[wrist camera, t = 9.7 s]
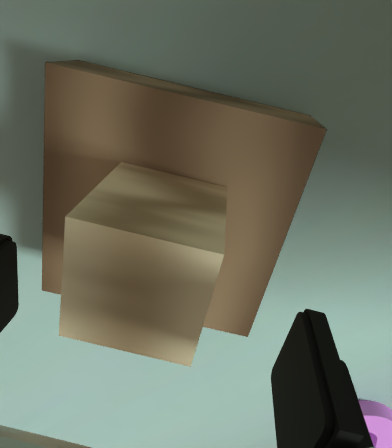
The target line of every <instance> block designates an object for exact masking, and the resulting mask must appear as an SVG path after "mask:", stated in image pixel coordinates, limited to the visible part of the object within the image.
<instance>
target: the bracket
mask: <svg viewBox="0 0 392 448" xmlns="http://www.w3.org/2000/svg"><path fill="white" fill-rule="evenodd" d="M358 401H359V404H360V407H361V410H362V413H363V416H364V419H365V422H366V425H367V428H368V431H369V432H370V433H369V434H370V437H371V440H372V443H373V446H374V448H392V410H391V409H390V408H388V407H387V406H385V405H383V404H381V403H378V402H374V401H368V400H358Z"/></svg>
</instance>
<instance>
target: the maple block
mask: <svg viewBox="0 0 392 448" xmlns="http://www.w3.org/2000/svg"><path fill="white" fill-rule="evenodd" d="M226 207H227V187H223V186H219V185H215V184H211V183H207V182H203V181H199V180H194V179H190V178H186V177H182V176H178V175H174V174H170V173H166V172H161V171H157V170H153V169H149V168H145V167H141V166H137V165H132V164H128V163H124V162H121V163H120V164H119V165H118V166H117V167H116V168H115V169H114V170H113V171H112V172H111V173H110V174H109V175H107V176H106V177H105V178H104V179H103V180H102V181H101V182H100V183H99V184H98V185H97V186H96V187H95V188H94V189H93V190H92V191H91V192H90V193H89V194H88V195H87V196H86V197H85V198H84V199H83V200H82V201H81V202H80V203H79V204H78V205H77V206H76V207H75V208H74V209H73V210H72V211H71V212H70V213H68V214H67V215H66V216H65V231H64V250H63V269H62V287H61V306H60V325H59V336H63V337H68V338H72V339H76V340H80V341H85V342H89V343H93V344H97V345H101V346H106V347H110V348H114V349H118V350H123V351H127V352H131V353H135V354H139V355H144V356H148V357H152V358H156V359H161V360H165V361H169V362H173V363H177V364H182V365H186V366H190V367H191V364H192V360H193V357H194V354H195V350H196V347H197V344H198V340H199V337H200V334H201V330H202V327H203V324H204V320H205V317H206V314H207V310H208V307H209V304H210V301H211V297H212V294H213V291H214V287H215V284H216V281H217V277H218V274H219V271H220V267H221V264H222V261H223V257H224V250H225V229H226Z"/></svg>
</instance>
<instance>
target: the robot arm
mask: <svg viewBox="0 0 392 448" xmlns="http://www.w3.org/2000/svg"><path fill="white" fill-rule="evenodd" d="M17 310H18V275H17V246H16V243H15V242H13V241H12V238H11V237H10V236H7V235H3V234H0V332H1V331H2V330H3V329H4V328H5V327H6V325H7V324H8V323H9V322H10V321H11V319H12V318H13V317H14V316H15V314H16V312H17ZM271 384H272V395H273V406H274V417H275V428H276V439H277V448H374V446H373V443H372V440H371V437H370V434H369V431H368V428H367V425H366V422H365V419H364V416H363V413H362V410H361V407H360V404H359V401H358V398H357V395H356V392H355V389H354V386H353V383H352V380H351V377H350V374H349V371H348V368H347V366H346V364H345V363H344V362H343V361H342V360H340V358H339V355H338V352H337V349H336V346H335V343H334V340H333V337H332V333H331V330H330V327H329V324H328V321H327V318H326V315H325V314H324V313H322V312H318V311H314V310H310V309H305V310H304V312H298V314H297V316H296V318H295V320H294V322H293V324H292V327H291V329H290V331H289V333H288V335H287V338H286V340H285V342H284V344H283V346H282V349H281V351H280V353H279V355H278V358H277V360H276V362H275V364H274V366H273V369H272V373H271ZM0 448H91V447H87V446H83V445H79V444H75V443H71V442H67V441H63V440H59V439H55V438H51V437H47V436H42V435H38V434H34V433H30V432H26V431H22V430H18V429H14V428H10V427H6V426H1V425H0Z"/></svg>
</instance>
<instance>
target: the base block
mask: <svg viewBox="0 0 392 448" xmlns="http://www.w3.org/2000/svg"><path fill="white" fill-rule="evenodd" d="M326 130H327V129H326V128H325V127H323V126H322V125H321V124H320V123H318V122H317V121H316V120H315V119H313V118H312V117H311V116H310V115H306V114H302V113H298V112H293V111H289V110H285V109H281V108H277V107H272V106H268V105H264V104H260V103H256V102H251V101H247V100H243V99H239V98H235V97H230V96H226V95H222V94H218V93H214V92H209V91H205V90H201V89H197V88H193V87H188V86H184V85H180V84H176V83H172V82H168V81H163V80H159V79H155V78H151V77H147V76H142V75H138V74H134V73H130V72H126V71H121V70H117V69H113V68H109V67H105V66H100V65H96V64H92V63H88V62H84V61H79V60H74V61H58V62H45V116H44V184H43V252H42V290H43V291H48V292H52V293H56V294H61V287H62V269H63V250H64V231H65V216H66V215H67V214H68V213H70V212H71V211H72V210H73V209H74V208H75V207H76V206H77V205H78V204H79V203H80V202H81V201H82V200H83V199H84V198H85V197H86V196H87V195H88V194H89V193H90V192H91V191H92V190H93V189H94V188H95V187H96V186H97V185H98V184H99V183H100V182H101V181H102V180H103V179H104V178H105V177H106V176H107V175H109V174H110V173H111V172H112V171H113V170H114V169H115V168H116V167H117V166H118V165H119V164H120V163H121V162H124V163H128V164H132V165H137V166H141V167H145V168H149V169H153V170H157V171H161V172H166V173H170V174H174V175H178V176H182V177H186V178H190V179H194V180H199V181H203V182H207V183H211V184H215V185H219V186H223V187H227V207H226V229H225V250H224V257H223V261H222V264H221V267H220V271H219V274H218V277H217V281H216V284H215V287H214V291H213V294H212V297H211V301H210V304H209V307H208V310H207V314H206V317H205V320H204V324H203V327H207V328H211V329H215V330H220V331H224V332H229V333H233V334H237V335H242V336H246V337H248V335H249V332H250V330H251V327H252V324H253V322H254V319H255V317H256V314H257V311H258V309H259V306H260V303H261V301H262V298H263V296H264V293H265V290H266V288H267V285H268V282H269V280H270V277H271V274H272V272H273V269H274V267H275V264H276V261H277V259H278V256H279V253H280V251H281V248H282V246H283V243H284V240H285V238H286V235H287V232H288V230H289V227H290V225H291V222H292V219H293V217H294V214H295V211H296V209H297V206H298V204H299V201H300V198H301V196H302V193H303V190H304V188H305V185H306V183H307V180H308V177H309V175H310V172H311V169H312V167H313V164H314V162H315V159H316V156H317V154H318V151H319V148H320V146H321V143H322V141H323V138H324V135H325V133H326Z"/></svg>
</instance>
